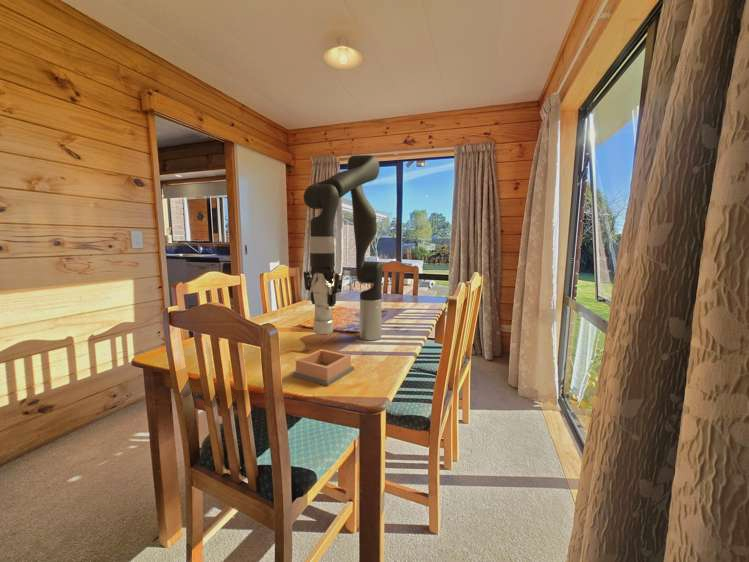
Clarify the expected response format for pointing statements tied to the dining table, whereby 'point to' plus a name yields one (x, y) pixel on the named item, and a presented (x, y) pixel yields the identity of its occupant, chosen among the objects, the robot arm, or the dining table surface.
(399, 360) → the dining table surface
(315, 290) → the grey tall ridged piece
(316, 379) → the collar stand
